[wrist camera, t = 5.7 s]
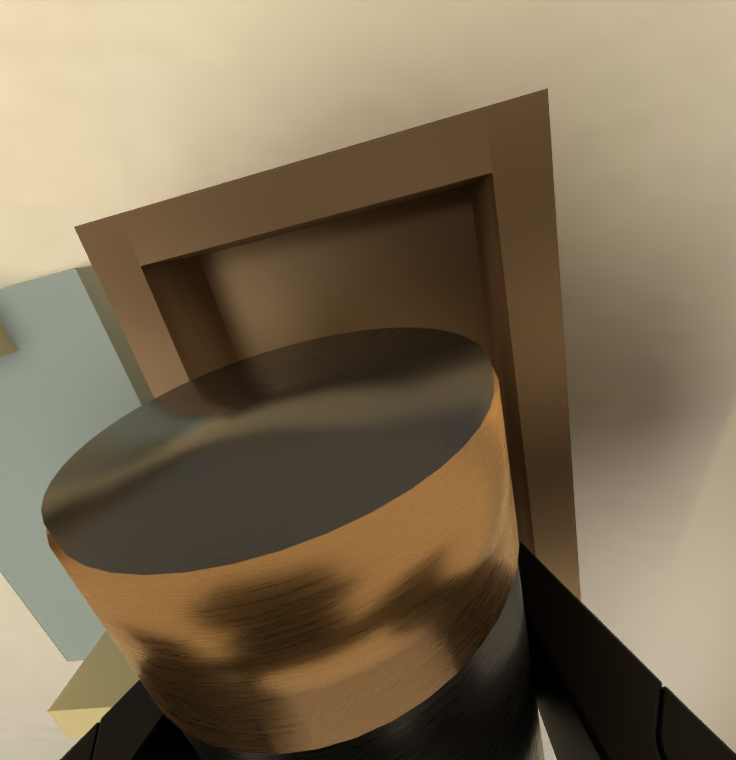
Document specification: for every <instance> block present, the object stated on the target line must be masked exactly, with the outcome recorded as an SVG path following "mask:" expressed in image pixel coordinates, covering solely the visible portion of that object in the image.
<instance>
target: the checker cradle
mask: <svg viewBox="0 0 736 760" xmlns="http://www.w3.org/2000/svg"><path fill="white" fill-rule="evenodd" d="M153 399H154V396H153V394H152V392H151V390H150V387H149V385H148V383H147V381H146V379H145V377H144V375H143V373H142V370H141V368H140V366H139V364H138V362H137V360H136V358H135V355H134V353H133V351H132V349H131V347H130V345H129V343H128V341H127V338H126V336H125V334H124V332H123V330H122V328H121V326H120V323H119V321H118V319H117V317H116V315H115V313H114V311H113V309H112V306H111V304H110V302H109V300H108V298H107V296H106V294H105V292H104V289H103V287H102V285H101V283H100V281H99V279H98V277H97V274H96V272H95V270H94V268H93V266H88V267H81V268H74V269H71V270H67V271H63V272H60V273H56V274H52V275H49V276H45V277H41V278H38V279H34V280H30V281H27V282H23V283H19V284H16V285H12V286H8V287H5V288H1V289H0V572H1V573H2V575H3V576H4V577H5V579H6V580H7V582H8V583H9V584H10V586H11V587H12V588H13V590H14V591H15V592H16V594H17V595H18V596H19V598H20V599H21V600H22V602H23V603H24V604H25V606H26V607H27V608H28V610H29V611H30V612H31V614H32V615H33V616H34V618H35V619H36V620H37V622H38V623H39V624H40V626H41V627H42V628H43V630H44V631H45V632H46V634H47V635H48V636H49V638H50V639H51V640H52V642H53V643H54V644H55V646H56V647H57V648H58V650H59V651H60V652H61V654H62V655H63V656H64V658H65V659H66V660H67V661H77V660H84V662H83V663H82V664H81V666H80V667H79V669H78V670H77V671H76V673H75V674H74V676H73V677H72V678H71V680H70V681H69V682H68V684H67V685H66V687H65V688H64V689H63V691H62V692H61V694H60V695H59V696H58V698H57V699H56V700H55V702H54V703H53V705H52V706H51V707H50V709H49V710H48V712H49V714H50V715H51V716H52V717H53V719H54V720H55V721H56V722H57V723H58V725H59V726H60V727H61V728H62V729H63V731H64V732H65V733H66V734H67V735H68V737H69V738H73V737H83V736H84V735H85V734H86V733H87V732H88V731H89V730H90V729H91V728H92V727H93V726H94V725H95V724H96V723H97V722H100V720H101V718H102V717H103V716H104V715H105V714H106V713H107V712H108V711H109V710H110V709H111V708H112V707H113V706H114V705H115V704H116V703H117V702H118V701H119V699H120V698H121V697H122V696H123V695H124V694H125V693H126V692H127V691H128V690H129V689H130V688H131V687H132V686H133V685H134V684H135V683H136V682H137V681H138V680H139V678H138V677H137V675H136V674H135V672H134V671H133V669H132V668H131V666H130V665H129V663H128V662H127V660H126V659H125V657H124V656H123V654H122V653H121V652H120V650H119V649H118V647H117V646H116V644H115V643H114V641H113V640H112V638H111V637H110V635H109V634H108V632H107V631H106V629H105V628H104V626H103V625H102V624H101V622H100V621H99V619H98V618H97V616H96V615H95V613H94V612H93V610H92V609H91V607H90V606H89V604H88V603H87V601H86V600H85V598H84V597H83V595H82V594H81V593H80V591H79V590H78V588H77V587H76V585H75V584H74V582H73V581H72V579H71V578H70V576H69V575H68V573H67V572H66V570H65V569H64V567H63V566H62V565H61V563H60V562H59V560H58V559H57V557H56V556H55V554H54V553H53V551H52V550H51V548H50V547H49V543H48V539H47V534H46V527H45V525H44V523H43V518H42V513H41V507H42V502H43V496H44V494H45V492H46V490H47V488H48V486H49V484H50V482H51V481H52V479H53V478H54V477H55V475H56V474H57V473H58V471H59V470H60V469H61V467H62V466H63V465H64V464H65V463H66V462H67V461H68V460H69V459H70V458H71V457H72V456H73V455H74V454H75V453H76V452H77V451H78V450H79V449H80V448H82V447H83V446H84V445H85V444H86V443H87V442H88V441H90V440H91V439H92V438H94V437H95V436H96V435H98V434H99V433H100V432H101V431H103V430H104V429H105V428H107V427H108V426H110V425H111V424H113V423H114V422H116V421H117V420H119V419H120V418H122V417H123V416H125V415H127V414H128V413H130V412H132V411H133V410H135V409H137V408H138V407H140V406H142V405H143V404H145V403H147V402H149V401H151V400H153Z"/></svg>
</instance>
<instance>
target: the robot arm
mask: <svg viewBox="0 0 736 760" xmlns="http://www.w3.org/2000/svg"><path fill="white" fill-rule="evenodd" d="M518 566H519V574H520V581H521V588H522V596H523V603H524V611H525V618H526V626H527V633H528V641H529V648H530V656H531V663H532V671H533V678H534V685H535V693H536V700H537V706H538V709H539V712H540V714H541V717H542V720H543V723H544V725H545V728H546V731H547V733H548V736H549V739H550V742H551V744H552V747H553V750H554V753H555V755H556V758H557V760H736V753H734V752H733V751H732V750H731V749H730V748H729V747H728V746H727V745H726V744H725V743H724V742H723V741H722V740H720V738H719V737H717V736H716V735H715V734H714V733H713V732H712V731H711V730H710V729H709V728H708V727H707V726H706V725H705V724H704V723H703V722H702V721H701V720H700V719H699V718H698V717H697V716H696V715H695V714H693V713H692V712H691V711H690V710H689V709H688V708H687V707H686V706H685V705H684V704H683V703H682V702H681V701H680V700H679V699H678V698H677V697H676V696H675V695H674V694H673V693H672V692H671V691H670V690H669V689H668V688H667V687H665V686H664V687H662V682H661V681H660V680H659V679H658V678H657V677H656V676H655V675H654V674H653V673H652V672H651V671H650V670H649V669H648V668H647V667H646V666H645V665H644V664H643V663H642V662H641V661H640V660H639V659H638V658H637V657H636V656H635V655H634V654H633V653H632V652H631V651H630V650H629V649H628V648H627V647H626V646H625V645H624V644H623V643H622V642H621V641H620V640H619V639H618V638H617V637H616V636H615V635H614V634H613V633H612V632H611V631H610V630H609V629H608V628H607V627H606V626H605V625H604V624H603V623H602V622H601V621H600V620H599V619H598V618H597V617H596V616H595V615H594V614H593V613H592V612H591V611H590V610H589V609H588V608H587V607H586V606H585V605H584V604H583V603H582V602H581V601H580V600H579V599H578V598H577V597H576V596H575V595H574V594H573V593H572V592H571V591H570V590H569V589H568V588H567V587H566V586H565V585H564V584H563V583H562V582H561V581H560V580H559V579H558V578H557V577H556V576H555V575H554V574H553V573H552V572H551V571H550V570H549V569H548V568H547V567H546V566H545V565H544V564H543V563H542V562H541V561H540V560H539V559H538V558H537V557H536V556H535V555H534V554H533V553H532V552H531V551H530V550H529V549H528V548H527V547H526V546H525V545H524V544H523V543H522V542H521V541H520V540H519V552H518ZM60 760H201V759H200V757H199V756H198V754H197V753H196V751H195V750H194V748H193V747H192V745H191V744H190V742H189V741H188V739H187V738H186V736H185V735H184V733H183V732H182V730H181V729H180V728H179V727H178V726H177V725H176V724H174V723H173V722H172V721H171V720H170V719H168V718H167V717H166V716H165V715H164V714H163V712H162V711H161V710H160V708H159V707H158V705H157V704H156V703H155V701H154V700H153V699H152V697H151V696H150V694H149V693H148V691H147V690H146V688H145V687H144V685H143V684H142V683H141V681H140V680H138V681H137V682H136V683H135V684H134V685H133V686H132V687H131V688H130V689H129V690H128V691H127V692H126V693H125V694H124V695H123V696H122V697H121V698H120V699H119V701H118V702H117V703H116V704H115V705H114V706H113V707H112V708H111V709H110V710H109V711H108V712H107V713H106V714H105V715H104V716H103V717H102V718H101V720H100V722H97V723H96V724H95V725H94V726H93V727H92V728H91V729H90V730H89V731H88V732H87V733H86V734H85V735H84V736H83V737H82V738H81V739H80V740H79V741H78V742H77V743H76V744H75V745H74V746H73V747H72V748H71V749H70V750H69V751H68V752H67V753H66V754H65V755H64V756H63V757H62V758H61V759H60Z"/></svg>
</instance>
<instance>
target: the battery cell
mask: <svg viewBox="0 0 736 760" xmlns="http://www.w3.org/2000/svg"><path fill="white" fill-rule="evenodd" d="M41 513H42V518H43V523H44V525H45V527H46V534H47V539H48V543H49V547H50V548H51V550H52V551H53V553H54V554H55V556H56V557H57V559H58V560H59V562H60V563H61V565H62V566H63V567H64V569H65V570H66V572H67V573H68V575H69V576H70V578H71V579H72V581H73V582H74V584H75V585H76V587H77V588H78V590H79V591H80V593H81V594H82V595H83V597H84V598H85V600H86V601H87V603H88V604H89V606H90V607H91V609H92V610H93V612H94V613H95V615H96V616H97V618H98V619H99V621H100V622H101V624H102V625H103V626H104V628H105V629H106V631H107V632H108V634H109V635H110V637H111V638H112V640H113V641H114V643H115V644H116V646H117V647H118V649H119V650H120V652H121V653H122V654H123V656H124V657H125V659H126V660H127V662H128V663H129V665H130V666H131V668H132V669H133V671H134V672H135V674H136V675H137V677H138V678H139V680H140V681H141V683H142V684H143V685H144V687H145V688H146V690H147V691H148V693H149V694H150V696H151V697H152V699H153V700H154V701H155V703H156V704H157V705H158V707H159V708H160V710H161V711H162V712H163V714H164V715H165V716H166V717H167V718H168V719H170V720H171V721H172V722H173V723H174V724H176V725H177V726H178V727H179V728H180V729H181V730H182V732H183V733H184V735H185V736H186V738H187V739H188V741H189V742H190V744H191V745H192V747H193V748H194V750H195V751H196V753H197V754H198V756H199V757H200V759H201V760H544V753H543V745H542V738H541V730H540V723H539V715H538V708H537V700H536V693H535V685H534V678H533V671H532V663H531V656H530V648H529V641H528V633H527V626H526V618H525V611H524V603H523V596H522V588H521V581H520V574H519V566H518V552H519V539H518V528H517V519H516V512H515V504H514V496H513V488H512V481H511V473H510V465H509V458H508V450H507V442H506V434H505V427H504V419H503V411H502V403H501V396H500V388H499V380H498V377H497V375H496V373H495V370H494V368H493V367H492V365H491V361H490V359H489V356H488V354H487V352H486V351H485V350H484V349H483V348H482V347H481V346H480V345H479V344H477V343H476V342H474V341H473V340H471V339H469V338H467V337H465V336H462V335H460V334H456V333H453V332H449V331H444V330H438V329H430V328H416V327H398V328H381V329H370V330H362V331H354V332H348V333H342V334H336V335H331V336H326V337H321V338H316V339H312V340H308V341H304V342H300V343H296V344H292V345H288V346H285V347H281V348H278V349H274V350H271V351H268V352H264V353H261V354H258V355H255V356H252V357H249V358H246V359H244V360H241V361H238V362H235V363H232V364H230V365H227V366H225V367H222V368H219V369H217V370H214V371H212V372H210V373H207V374H205V375H202V376H200V377H198V378H195V379H193V380H191V381H189V382H187V383H185V384H182V385H180V386H178V387H176V388H174V389H172V390H170V391H168V392H166V393H164V394H162V395H160V396H158V397H156V398H154V399H153V400H151V401H149V402H147V403H145V404H143V405H142V406H140V407H138V408H137V409H135V410H133V411H132V412H130V413H128V414H127V415H125V416H123V417H122V418H120V419H119V420H117V421H116V422H114V423H113V424H111V425H110V426H108V427H107V428H105V429H104V430H103V431H101V432H100V433H99V434H98V435H96V436H95V437H94V438H92V439H91V440H90V441H88V442H87V443H86V444H85V445H84V446H83V447H82V448H80V449H79V450H78V451H77V452H76V453H75V454H74V455H73V456H72V457H71V458H70V459H69V460H68V461H67V462H66V463H65V464H64V465H63V466H62V467H61V469H60V470H59V471H58V473H57V474H56V475H55V477H54V478H53V479H52V481H51V482H50V484H49V486H48V488H47V490H46V492H45V494H44V496H43V502H42V507H41Z"/></svg>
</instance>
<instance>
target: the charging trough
mask: <svg viewBox="0 0 736 760" xmlns="http://www.w3.org/2000/svg"><path fill="white" fill-rule="evenodd" d="M74 228H75V230H76V232H77V234H78V236H79V238H80V240H81V243H82V245H83V247H84V249H85V251H86V253H87V255H88V257H89V260H90V262H91V264H92V266H93V268H94V270H95V272H96V274H97V277H98V279H99V281H100V283H101V285H102V287H103V289H104V292H105V294H106V296H107V298H108V300H109V302H110V304H111V306H112V309H113V311H114V313H115V315H116V317H117V319H118V321H119V323H120V326H121V328H122V330H123V332H124V334H125V336H126V338H127V341H128V343H129V345H130V347H131V349H132V351H133V353H134V355H135V358H136V360H137V362H138V364H139V366H140V368H141V370H142V373H143V375H144V377H145V379H146V381H147V383H148V385H149V387H150V390H151V392H152V394H153V396H154V398H156V397H158V396H160V395H162V394H164V393H166V392H168V391H170V390H172V389H174V388H176V387H178V386H180V385H182V384H185V383H187V382H189V381H191V380H193V379H195V378H198V377H200V376H202V375H205V374H207V373H210V372H212V371H214V370H217V369H219V368H222V367H225V366H227V365H230V364H232V363H235V362H238V361H241V360H244V359H246V358H249V357H252V356H255V355H258V354H261V353H264V352H268V351H271V350H274V349H278V348H281V347H285V346H288V345H292V344H296V343H300V342H304V341H308V340H312V339H316V338H321V337H326V336H331V335H336V334H342V333H348V332H354V331H362V330H370V329H381V328H398V327H416V328H430V329H438V330H444V331H449V332H453V333H456V334H460V335H462V336H465V337H467V338H469V339H471V340H473V341H474V342H476V343H477V344H479V345H480V346H481V347H482V348H483V349H484V350H485V351H486V352H487V354H488V356H489V359H490V361H491V365H492V367H493V368H494V370H495V373H496V375H497V377H498V380H499V388H500V396H501V403H502V411H503V419H504V427H505V434H506V442H507V450H508V458H509V465H510V473H511V481H512V488H513V496H514V504H515V512H516V519H517V528H518V539H519V540H520V541H521V542H522V543H523V544H524V545H525V546H526V547H527V548H528V549H529V550H530V551H531V552H532V553H533V554H534V555H535V556H536V557H537V558H538V559H539V560H540V561H541V562H542V563H543V564H544V565H545V566H546V567H547V568H548V569H549V570H550V571H551V572H552V573H553V574H554V575H555V576H556V577H557V578H558V579H559V580H560V581H561V582H562V583H563V584H564V585H565V586H566V587H567V588H568V589H569V590H570V591H571V592H572V593H573V594H574V595H575V596H576V597H577V598H578V599H579V600H580V601H581V598H580V582H579V567H578V551H577V536H576V521H575V505H574V490H573V474H572V459H571V443H570V428H569V412H568V397H567V382H566V366H565V351H564V335H563V320H562V304H561V289H560V273H559V258H558V242H557V227H556V212H555V196H554V181H553V165H552V150H551V134H550V119H549V103H548V89H544V90H541V91H538V92H534V93H531V94H527V95H524V96H520V97H517V98H514V99H510V100H507V101H503V102H500V103H497V104H493V105H490V106H486V107H483V108H479V109H476V110H473V111H469V112H466V113H462V114H459V115H455V116H452V117H449V118H445V119H442V120H438V121H435V122H432V123H428V124H425V125H421V126H418V127H414V128H411V129H408V130H404V131H401V132H397V133H394V134H390V135H387V136H384V137H380V138H377V139H373V140H370V141H367V142H363V143H360V144H356V145H353V146H349V147H346V148H343V149H339V150H336V151H332V152H329V153H325V154H322V155H319V156H315V157H312V158H308V159H305V160H301V161H298V162H295V163H291V164H288V165H284V166H281V167H278V168H274V169H271V170H267V171H264V172H260V173H257V174H254V175H250V176H247V177H243V178H240V179H236V180H233V181H230V182H226V183H223V184H219V185H216V186H213V187H209V188H206V189H202V190H199V191H195V192H192V193H189V194H185V195H182V196H178V197H175V198H171V199H168V200H165V201H161V202H158V203H154V204H151V205H148V206H144V207H141V208H137V209H134V210H130V211H127V212H124V213H120V214H117V215H113V216H110V217H106V218H103V219H100V220H96V221H93V222H89V223H86V224H83V225H79V226H76V227H74ZM537 708H538V706H537Z"/></svg>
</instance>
